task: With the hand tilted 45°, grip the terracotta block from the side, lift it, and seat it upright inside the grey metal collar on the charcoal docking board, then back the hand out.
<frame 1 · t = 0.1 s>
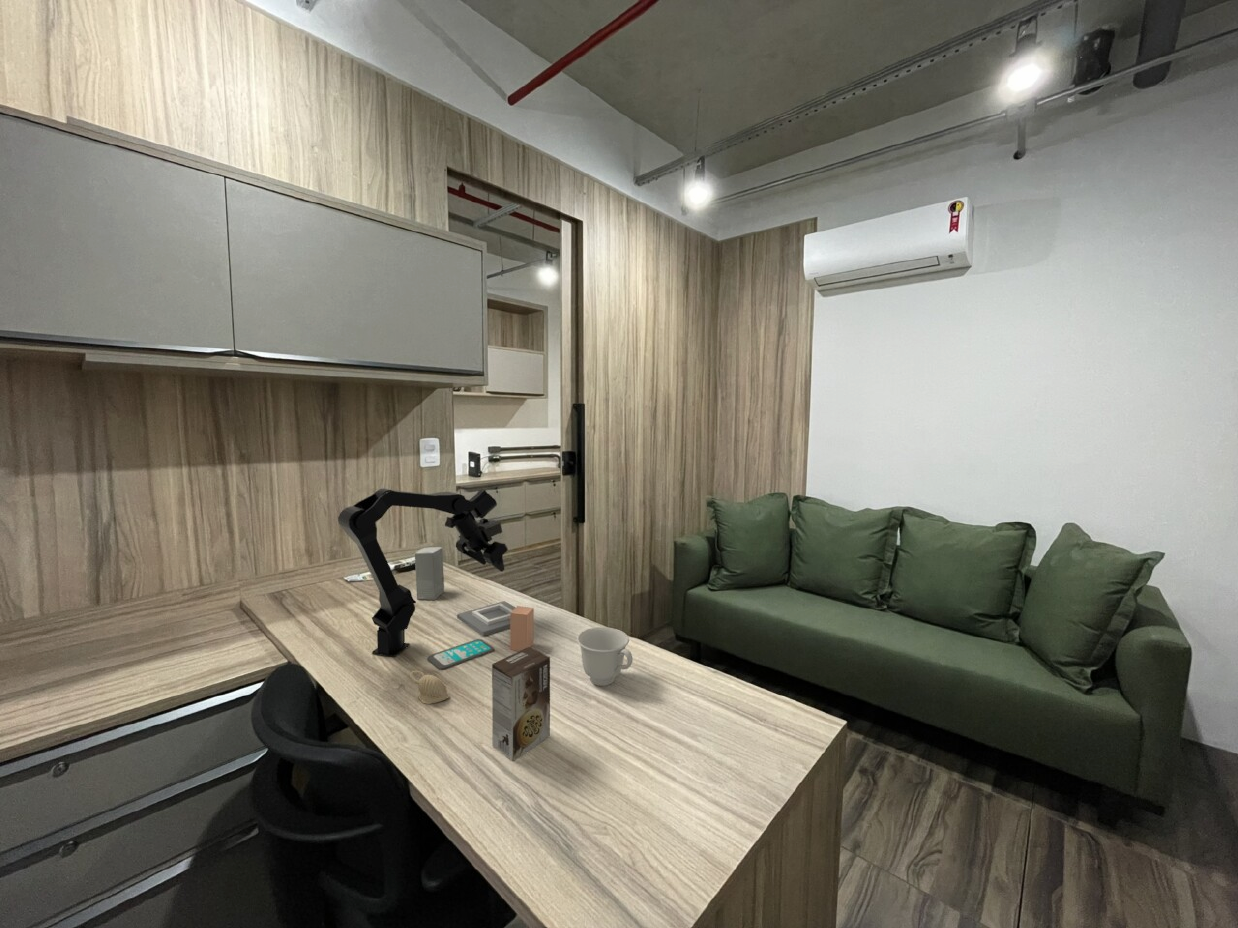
hand: (493, 567, 146), 15 cm above the table, tool tilted 35°, fingers open, 9 cm apart
teacup: (606, 682, 112), on the table
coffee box: (521, 742, 91), on the table
skincare box: (430, 596, 162), on the table
terracotta block: (521, 646, 128), on the table
dock board: (494, 619, 144), on the table
beige creamer pitcher: (430, 698, 104), on the table
smartphone: (461, 656, 123), on the table
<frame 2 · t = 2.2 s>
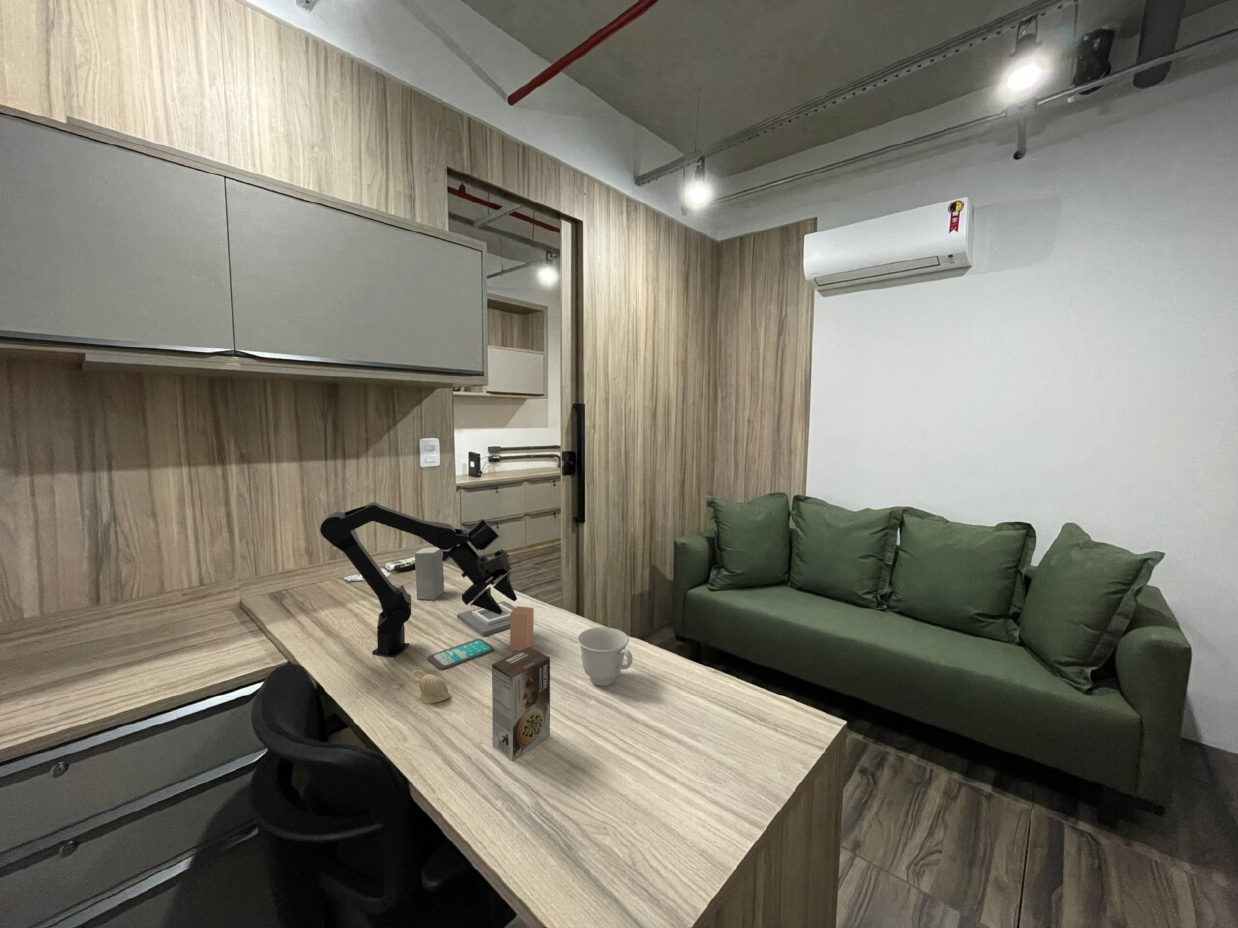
hand: (508, 606, 128), 11 cm above the table, tool tilted 45°, fingers open, 9 cm apart
nothing on the table moved.
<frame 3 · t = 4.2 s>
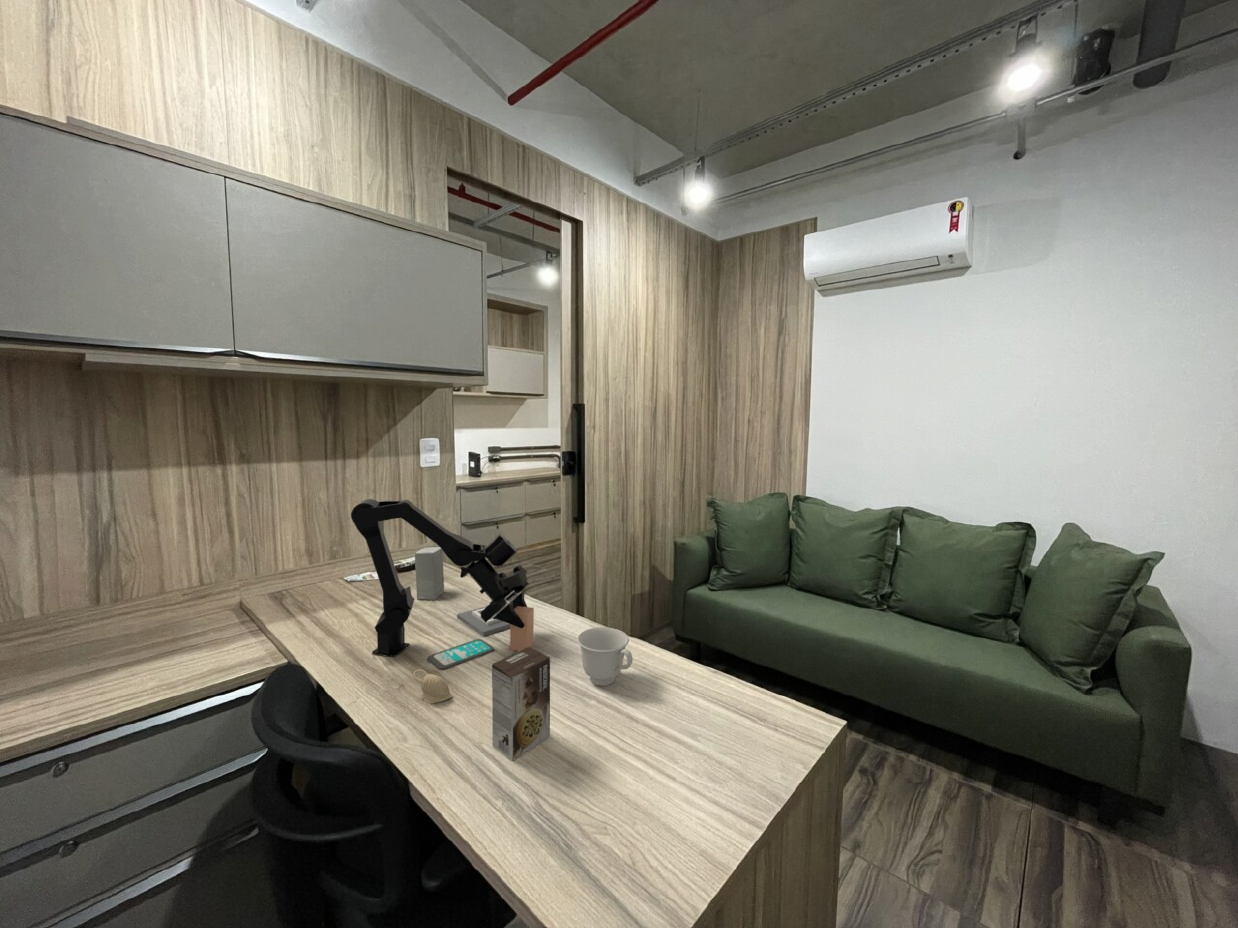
hand: (527, 623, 127), 7 cm above the table, tool tilted 45°, fingers closed on terracotta block, 5 cm apart
terracotta block: (521, 646, 128), on the table, touching gripper
everything else where it was.
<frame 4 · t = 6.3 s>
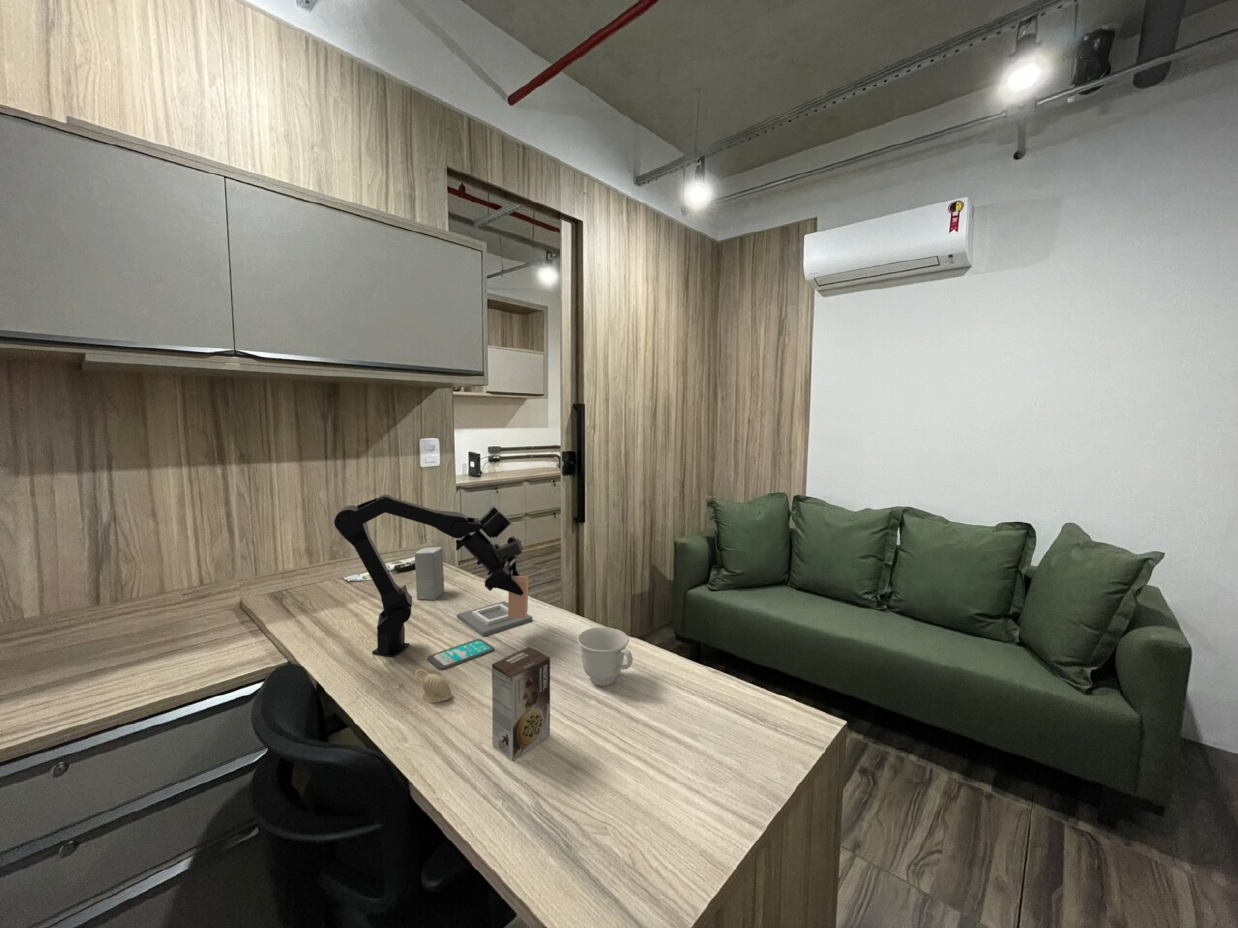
hand: (523, 590, 132), 13 cm above the table, tool tilted 45°, fingers closed on terracotta block, 5 cm apart
terracotta block: (517, 614, 132), point 7 cm above the table, touching gripper
everything else where it was.
when the fingers open (9 cm above the table, at t = 8.9 s): terracotta block drops 1 cm, resting on dock board.
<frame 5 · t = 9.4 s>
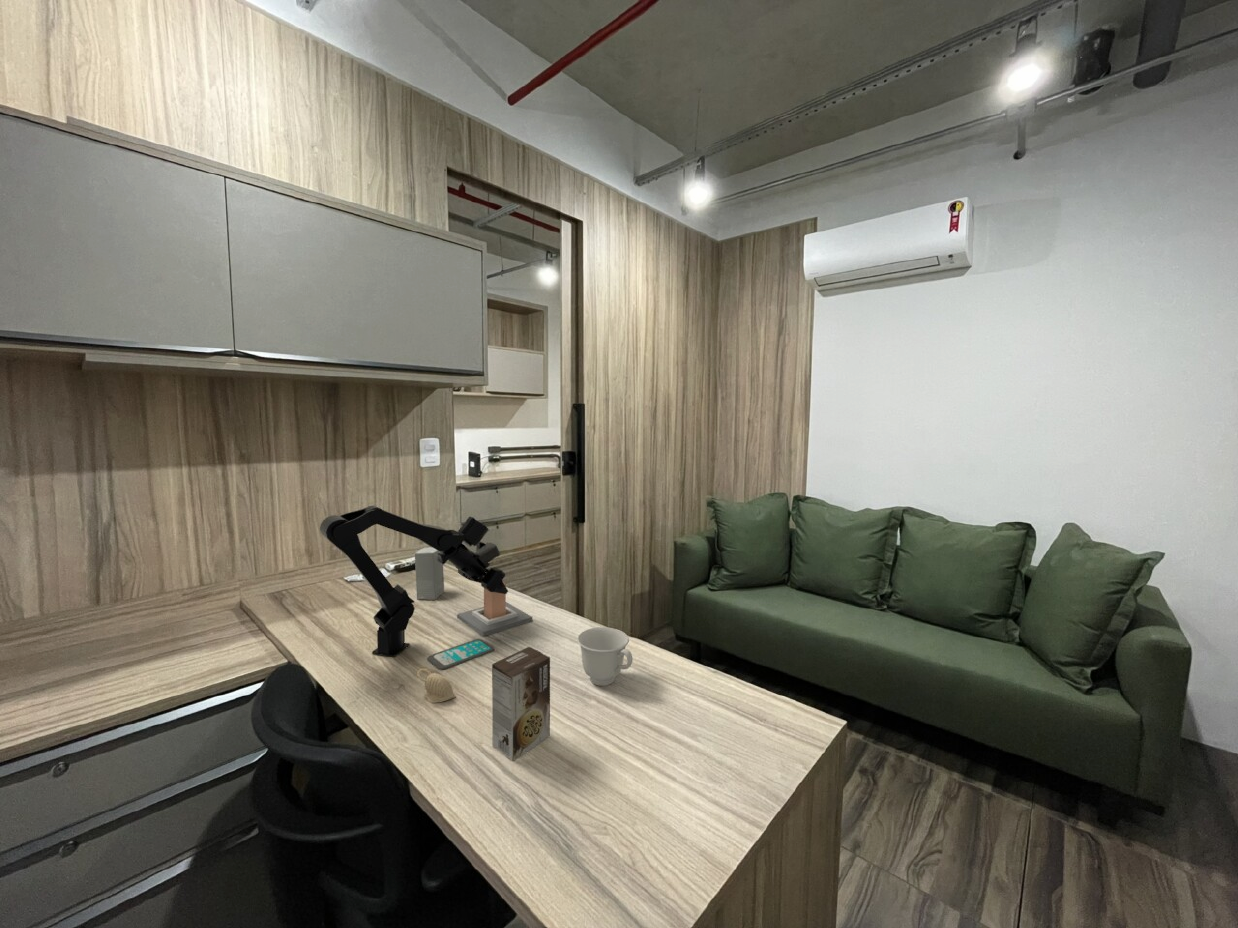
hand: (498, 588, 144), 9 cm above the table, tool tilted 45°, fingers open, 9 cm apart
terracotta block: (494, 615, 144), point 1 cm above the table, touching dock board
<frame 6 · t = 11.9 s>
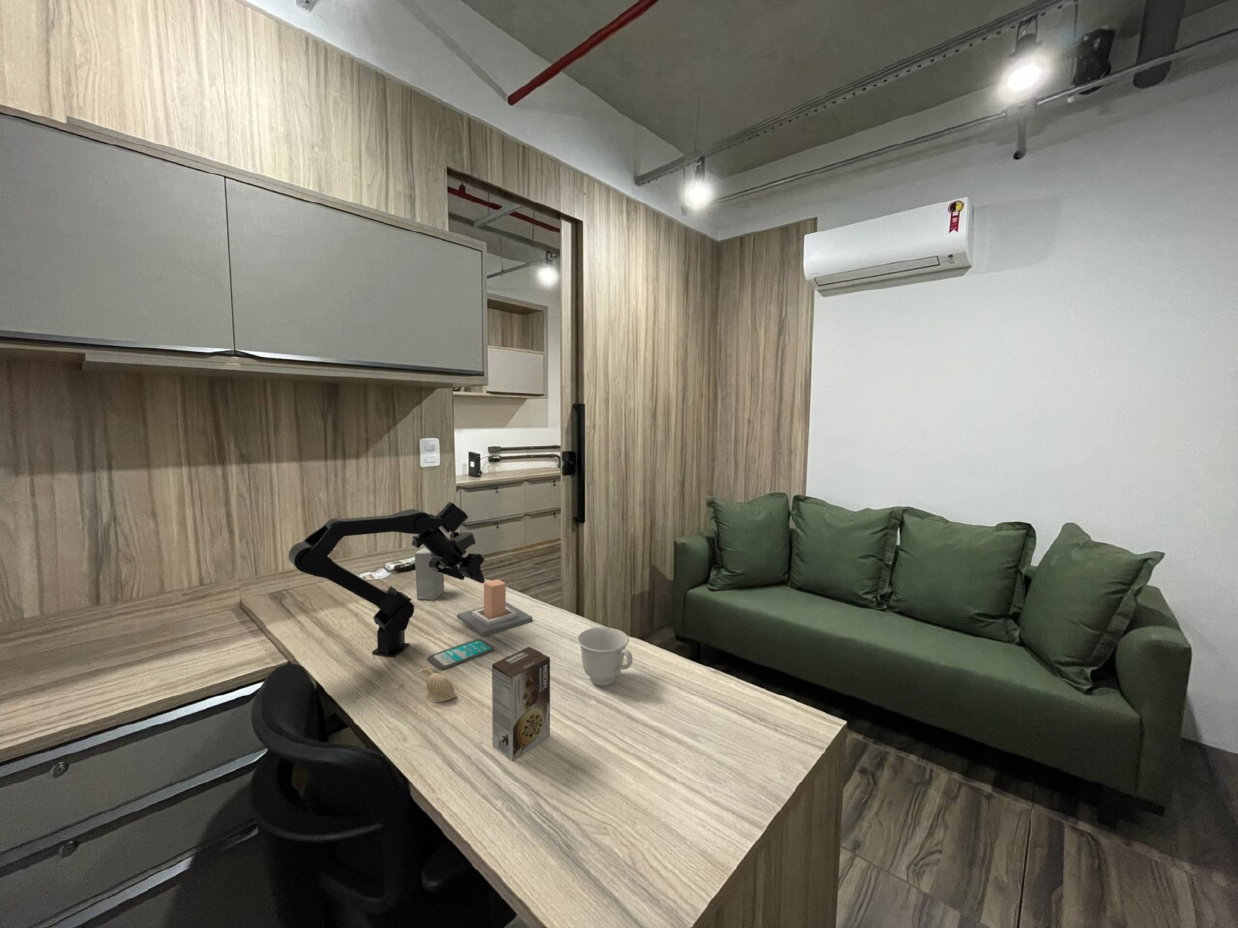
hand: (473, 580, 139), 13 cm above the table, tool tilted 40°, fingers open, 9 cm apart
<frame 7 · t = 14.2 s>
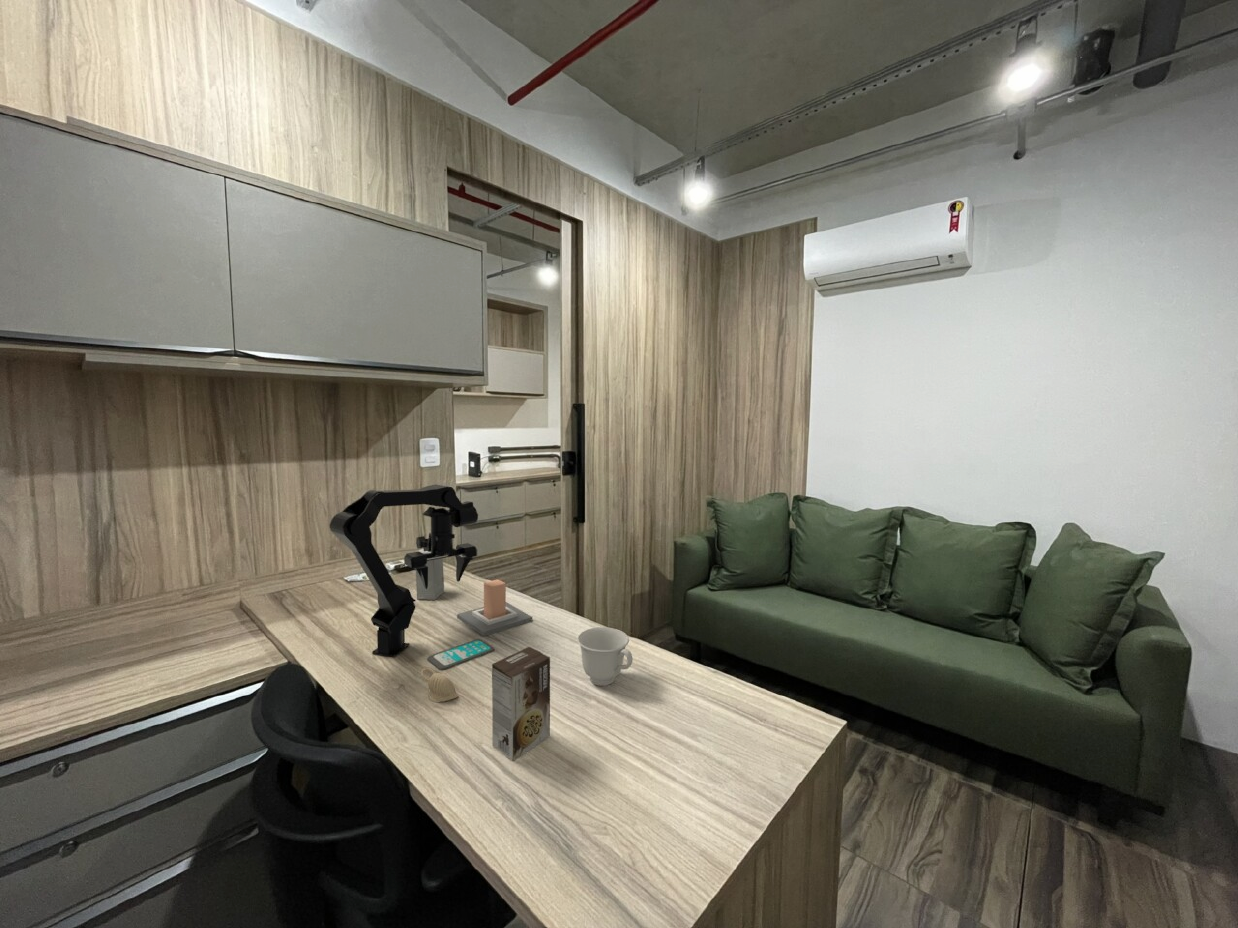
hand: (442, 584, 135), 13 cm above the table, tool pointing down, fingers open, 9 cm apart
at the end: terracotta block 0.0 cm off-centre on the dock board, point 1.2 cm above the dock board's base; terracotta block tilted 0°; the gripper is holding nothing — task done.
